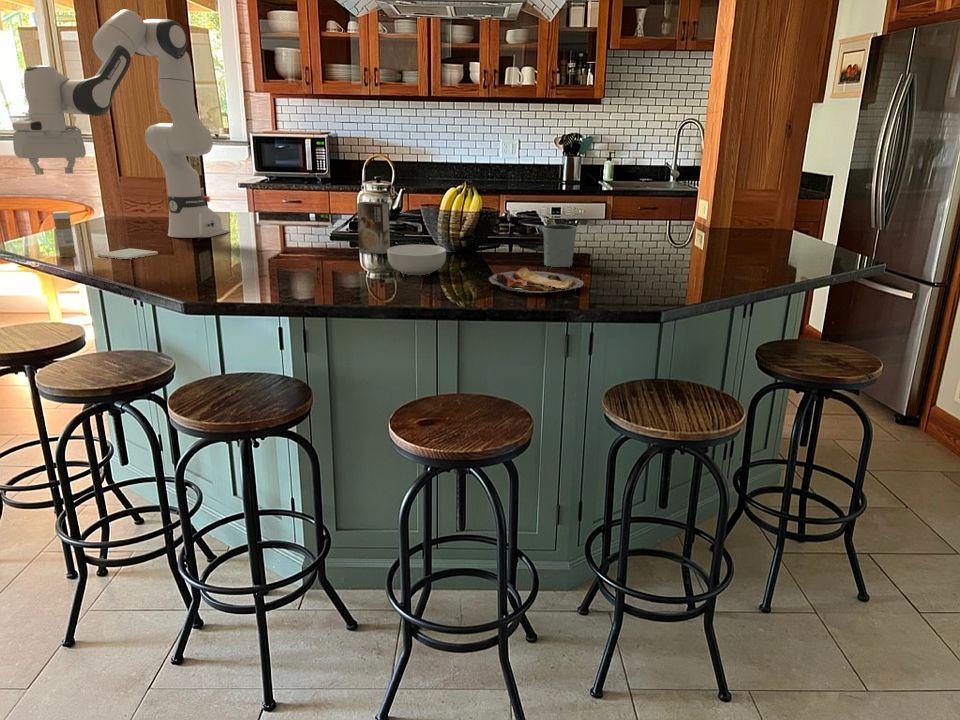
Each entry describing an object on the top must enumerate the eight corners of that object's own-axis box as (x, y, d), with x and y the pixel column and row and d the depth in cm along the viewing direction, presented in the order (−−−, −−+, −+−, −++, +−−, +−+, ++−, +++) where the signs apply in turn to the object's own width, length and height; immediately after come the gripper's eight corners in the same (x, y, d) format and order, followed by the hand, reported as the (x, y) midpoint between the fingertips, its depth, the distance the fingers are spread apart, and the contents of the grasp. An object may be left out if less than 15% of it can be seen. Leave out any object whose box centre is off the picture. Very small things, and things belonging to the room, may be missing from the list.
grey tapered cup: (576, 263, 226) (578, 225, 222) (571, 269, 216) (574, 229, 213) (544, 261, 228) (546, 223, 224) (538, 267, 219) (540, 227, 215)
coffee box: (391, 251, 240) (390, 202, 235) (384, 254, 234) (383, 204, 229) (365, 249, 242) (364, 201, 237) (358, 252, 236) (356, 203, 231)
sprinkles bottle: (74, 254, 223) (67, 210, 219) (77, 256, 220) (70, 212, 216) (57, 255, 220) (50, 211, 216) (61, 258, 217) (53, 213, 213)
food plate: (471, 284, 193) (471, 271, 192) (529, 274, 209) (529, 262, 208) (541, 304, 177) (542, 290, 176) (598, 291, 193) (599, 278, 191)
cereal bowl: (381, 269, 211) (381, 245, 209) (435, 266, 217) (435, 243, 215) (396, 281, 196) (395, 255, 194) (453, 277, 202) (454, 252, 200)
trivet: (130, 250, 231) (129, 248, 231) (158, 254, 226) (157, 251, 226) (97, 256, 220) (97, 253, 220) (126, 260, 216) (125, 257, 216)
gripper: (72, 125, 219) (79, 172, 223) (6, 123, 201) (14, 174, 205) (87, 125, 216) (93, 173, 220) (21, 124, 198) (29, 175, 202)
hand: (54, 174), depth 212 cm, fingers open, 8 cm apart
